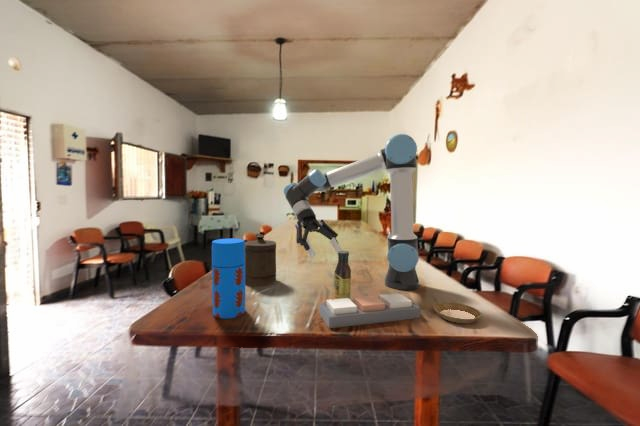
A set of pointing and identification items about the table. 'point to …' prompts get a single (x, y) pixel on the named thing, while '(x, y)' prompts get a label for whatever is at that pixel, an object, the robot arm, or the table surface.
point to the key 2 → (395, 301)
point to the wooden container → (260, 262)
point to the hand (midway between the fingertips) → (327, 254)
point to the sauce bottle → (342, 277)
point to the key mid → (369, 303)
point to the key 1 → (341, 306)
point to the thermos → (228, 278)
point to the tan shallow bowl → (457, 306)
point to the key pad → (367, 316)
